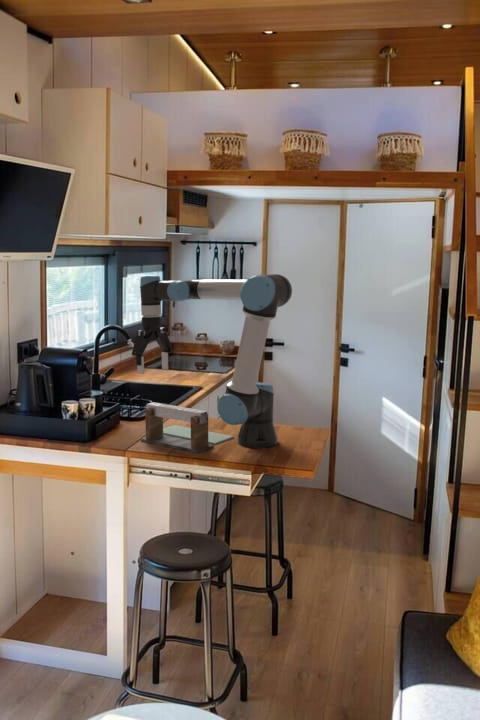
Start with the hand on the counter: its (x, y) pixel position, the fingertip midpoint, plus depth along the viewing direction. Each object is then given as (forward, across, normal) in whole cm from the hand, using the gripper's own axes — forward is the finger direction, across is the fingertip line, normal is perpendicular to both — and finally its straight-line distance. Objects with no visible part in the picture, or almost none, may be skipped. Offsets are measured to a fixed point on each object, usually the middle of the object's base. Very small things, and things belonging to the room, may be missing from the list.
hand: (153, 371), depth 267 cm
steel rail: (+16, +4, +14) cm, 22 cm away
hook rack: (+26, +4, +14) cm, 30 cm away
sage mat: (+26, -10, +11) cm, 30 cm away
